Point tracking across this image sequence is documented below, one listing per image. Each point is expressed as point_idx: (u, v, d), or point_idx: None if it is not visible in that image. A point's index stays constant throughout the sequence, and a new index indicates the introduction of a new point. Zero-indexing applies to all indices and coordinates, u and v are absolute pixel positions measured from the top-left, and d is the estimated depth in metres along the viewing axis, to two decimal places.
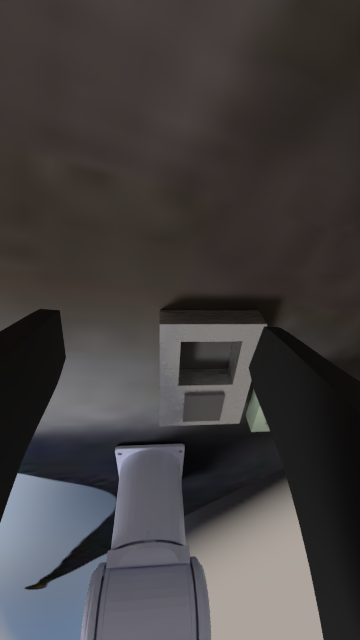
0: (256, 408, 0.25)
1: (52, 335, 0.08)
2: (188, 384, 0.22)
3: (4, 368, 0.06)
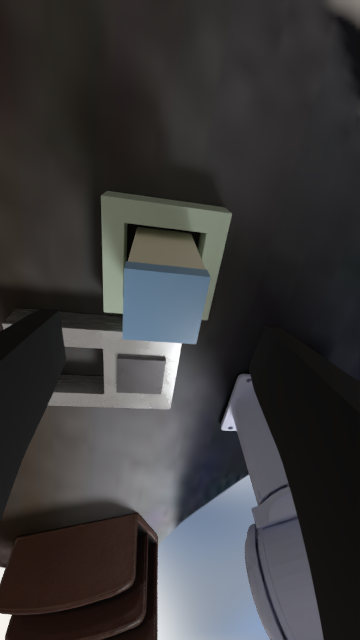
0: None
1: (52, 335, 0.08)
2: (104, 384, 0.21)
3: (4, 368, 0.06)
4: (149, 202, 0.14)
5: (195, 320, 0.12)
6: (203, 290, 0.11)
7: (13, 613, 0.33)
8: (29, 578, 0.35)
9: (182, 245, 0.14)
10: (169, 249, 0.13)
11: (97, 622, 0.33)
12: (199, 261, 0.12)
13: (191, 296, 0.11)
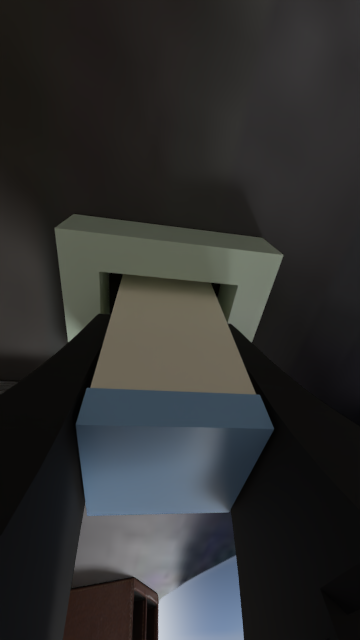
0: None
1: None
2: None
3: (91, 372, 0.06)
4: (142, 238, 0.08)
5: (231, 486, 0.06)
6: (254, 448, 0.05)
7: None
8: None
9: (198, 310, 0.08)
10: (177, 324, 0.07)
11: None
12: (236, 360, 0.06)
13: (226, 454, 0.05)
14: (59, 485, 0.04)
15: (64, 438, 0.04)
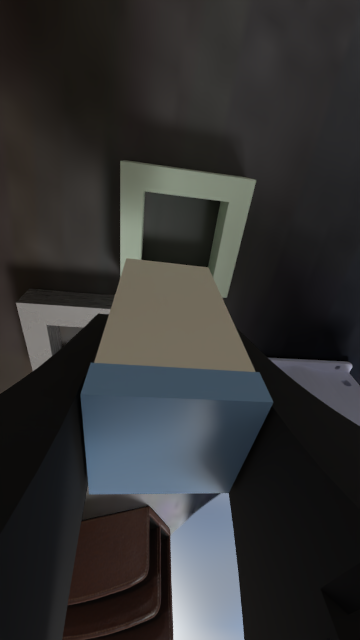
0: None
1: None
2: None
3: None
4: (170, 168, 0.13)
5: (231, 464, 0.06)
6: (254, 423, 0.05)
7: None
8: None
9: (199, 297, 0.08)
10: (178, 309, 0.07)
11: (112, 615, 0.33)
12: (236, 342, 0.06)
13: (226, 430, 0.05)
14: (58, 485, 0.04)
15: (63, 438, 0.04)
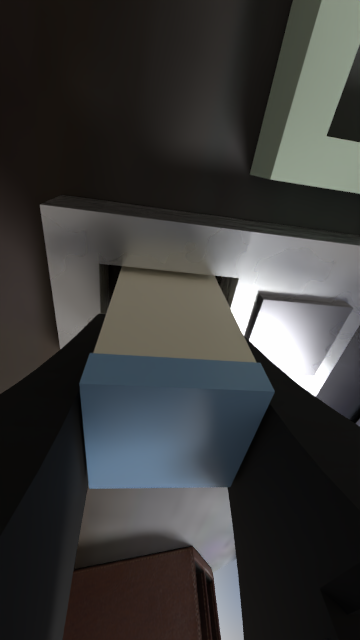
0: None
1: None
2: None
3: None
4: None
5: (232, 456, 0.06)
6: (255, 413, 0.05)
7: None
8: None
9: (199, 291, 0.08)
10: (178, 302, 0.07)
11: None
12: (237, 334, 0.06)
13: (227, 422, 0.05)
14: (59, 485, 0.04)
15: (64, 438, 0.04)
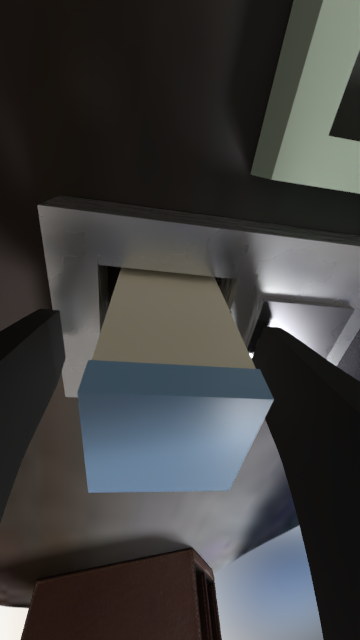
0: None
1: (52, 335, 0.08)
2: None
3: (4, 368, 0.06)
4: None
5: (231, 461, 0.06)
6: (254, 420, 0.05)
7: None
8: None
9: (199, 294, 0.08)
10: (178, 305, 0.07)
11: None
12: (236, 338, 0.06)
13: (226, 428, 0.05)
14: None
15: None
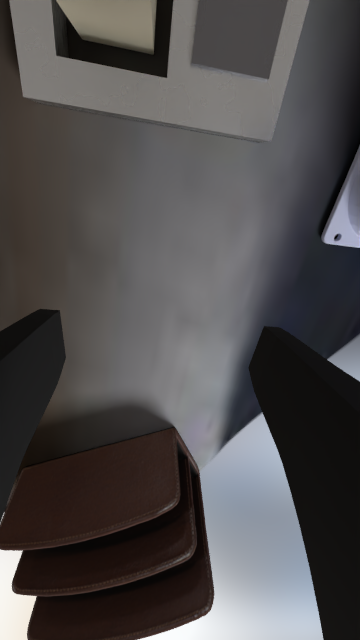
0: None
1: (52, 335, 0.08)
2: (169, 51, 0.11)
3: (4, 368, 0.06)
4: None
5: None
6: None
7: (19, 548, 0.24)
8: (39, 508, 0.27)
9: None
10: None
11: (131, 559, 0.24)
12: None
13: None
14: None
15: None
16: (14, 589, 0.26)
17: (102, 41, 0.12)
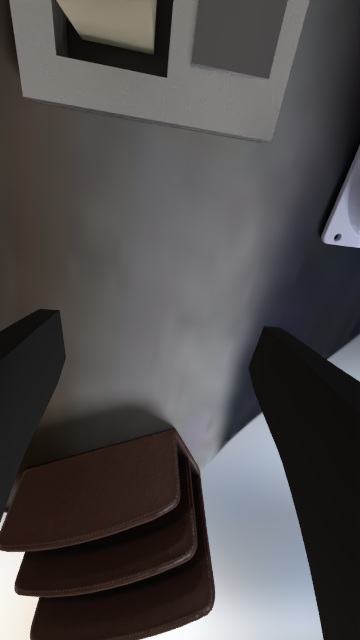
0: None
1: (52, 335, 0.08)
2: (169, 51, 0.11)
3: (4, 368, 0.06)
4: None
5: None
6: None
7: (21, 550, 0.24)
8: (41, 510, 0.27)
9: None
10: None
11: (133, 560, 0.25)
12: None
13: None
14: None
15: None
16: (16, 590, 0.26)
17: (102, 41, 0.12)
